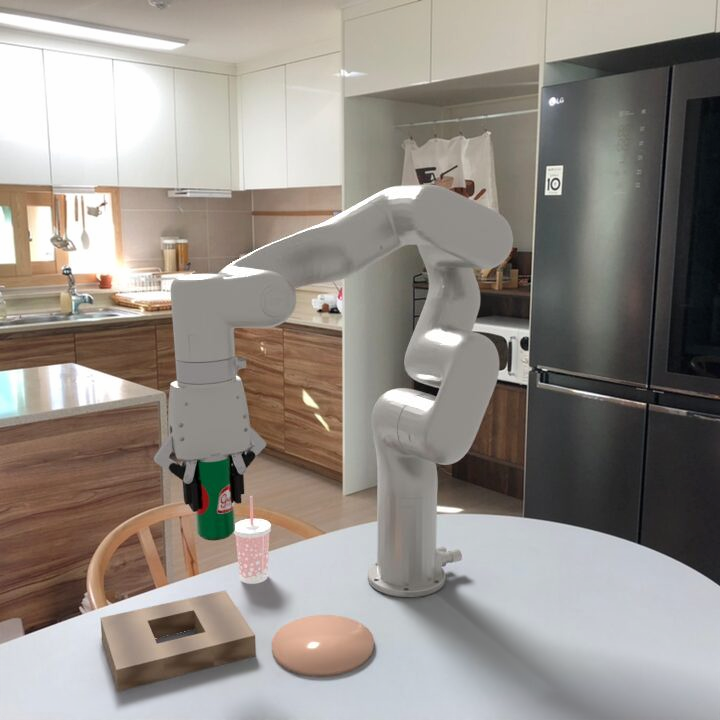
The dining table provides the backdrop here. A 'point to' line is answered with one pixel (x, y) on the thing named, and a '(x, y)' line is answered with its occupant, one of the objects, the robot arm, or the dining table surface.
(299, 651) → the peach domed disc
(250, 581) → the beverage cup
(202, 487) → the soda can
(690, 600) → the dining table surface
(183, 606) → the pocket board
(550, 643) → the dining table surface
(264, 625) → the dining table surface
